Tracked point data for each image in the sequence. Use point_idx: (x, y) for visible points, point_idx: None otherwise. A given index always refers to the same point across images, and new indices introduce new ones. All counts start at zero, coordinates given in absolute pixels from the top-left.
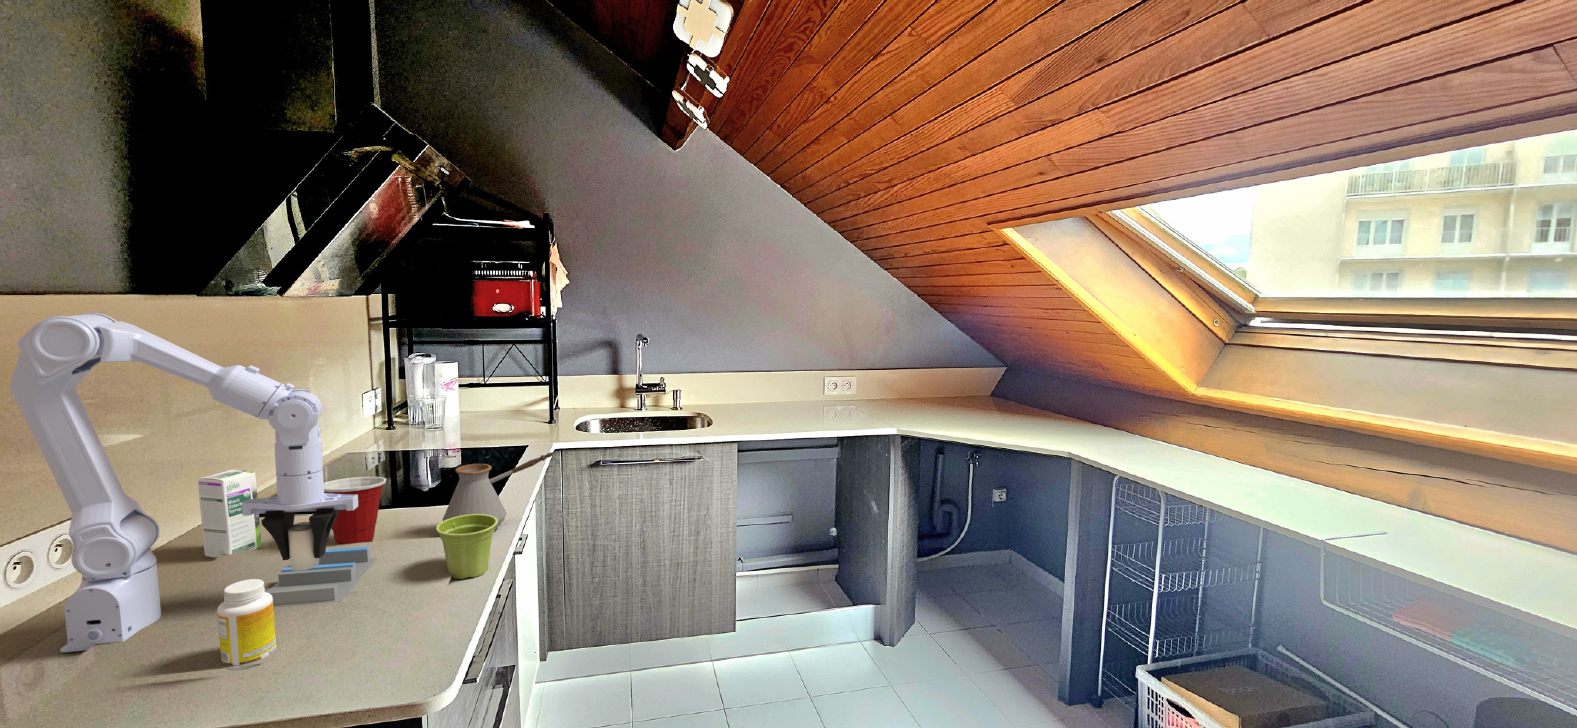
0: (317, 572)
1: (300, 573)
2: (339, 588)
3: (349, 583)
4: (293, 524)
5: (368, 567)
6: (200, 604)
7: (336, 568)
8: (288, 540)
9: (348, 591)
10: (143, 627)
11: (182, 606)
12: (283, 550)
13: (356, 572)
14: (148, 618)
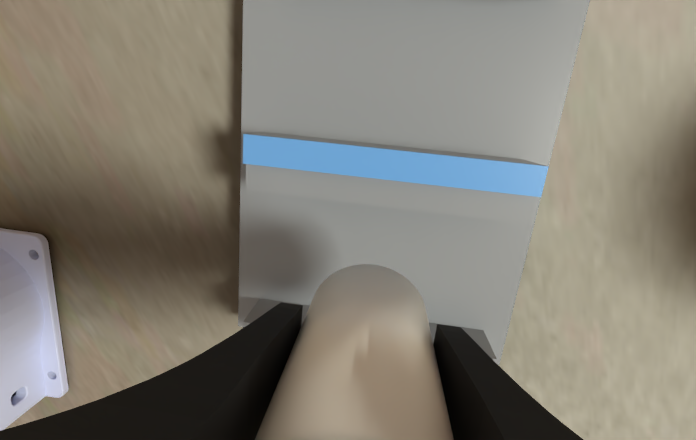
0: (392, 206)
1: (327, 198)
2: (476, 264)
3: (506, 231)
4: (220, 410)
5: (566, 75)
6: (76, 193)
7: (466, 195)
8: (261, 417)
9: (511, 300)
10: (34, 346)
11: (35, 191)
12: None
13: (519, 123)
14: (18, 344)
